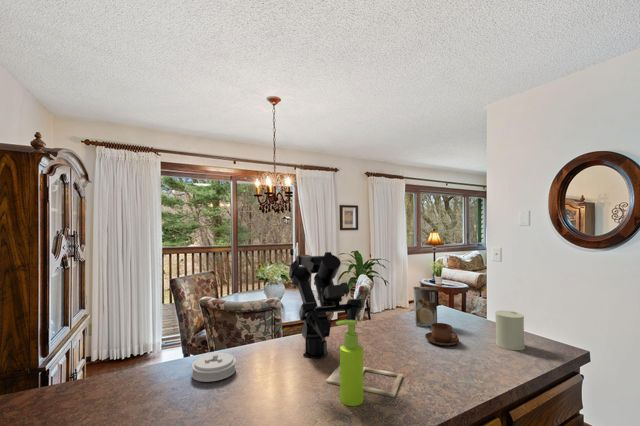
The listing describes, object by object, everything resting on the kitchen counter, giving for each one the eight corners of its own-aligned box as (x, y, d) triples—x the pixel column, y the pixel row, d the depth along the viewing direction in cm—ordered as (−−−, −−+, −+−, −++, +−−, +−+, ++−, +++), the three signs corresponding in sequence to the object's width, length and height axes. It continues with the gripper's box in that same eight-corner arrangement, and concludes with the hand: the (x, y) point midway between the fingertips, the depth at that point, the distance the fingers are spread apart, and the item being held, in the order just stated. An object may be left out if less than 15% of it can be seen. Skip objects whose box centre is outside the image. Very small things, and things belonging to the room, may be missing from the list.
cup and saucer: (461, 340, 123) (461, 324, 123) (456, 350, 113) (455, 333, 113) (429, 334, 130) (429, 319, 130) (421, 344, 119) (421, 327, 120)
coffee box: (434, 322, 144) (434, 287, 145) (437, 327, 138) (437, 289, 139) (413, 321, 146) (413, 286, 146) (415, 326, 140) (415, 289, 140)
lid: (181, 380, 93) (181, 362, 93) (211, 362, 104) (211, 347, 105) (217, 388, 88) (217, 370, 88) (244, 369, 100) (244, 352, 100)
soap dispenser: (335, 394, 84) (334, 317, 85) (360, 393, 85) (360, 317, 86) (338, 407, 79) (337, 324, 79) (365, 405, 79) (365, 324, 80)
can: (529, 346, 116) (528, 313, 117) (517, 352, 111) (516, 317, 111) (503, 339, 124) (502, 307, 124) (490, 344, 119) (490, 311, 119)
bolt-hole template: (326, 382, 91) (326, 379, 91) (341, 364, 102) (341, 361, 102) (394, 397, 83) (394, 393, 83) (402, 376, 94) (402, 373, 94)
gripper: (301, 275, 92) (312, 325, 82) (360, 271, 98) (378, 318, 87) (295, 296, 100) (304, 345, 89) (350, 292, 105) (365, 337, 94)
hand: (338, 336), depth 90 cm, fingers open, 9 cm apart
